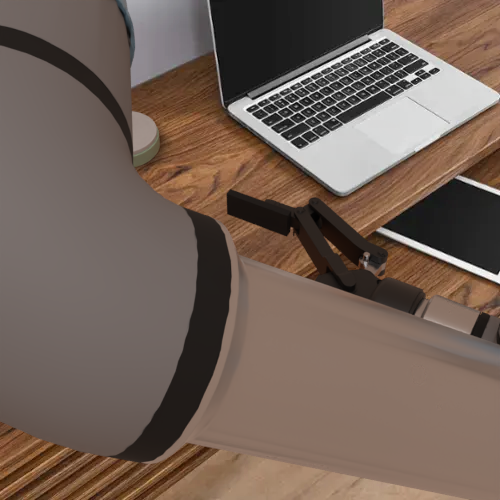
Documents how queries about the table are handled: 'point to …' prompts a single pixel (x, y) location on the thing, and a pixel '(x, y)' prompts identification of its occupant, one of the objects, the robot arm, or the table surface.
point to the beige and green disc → (144, 139)
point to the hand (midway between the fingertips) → (191, 246)
